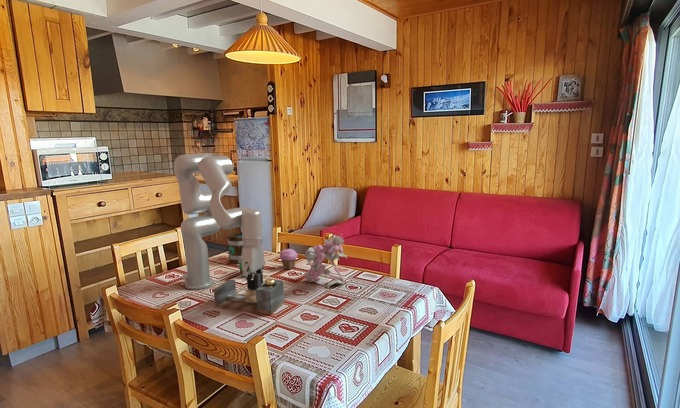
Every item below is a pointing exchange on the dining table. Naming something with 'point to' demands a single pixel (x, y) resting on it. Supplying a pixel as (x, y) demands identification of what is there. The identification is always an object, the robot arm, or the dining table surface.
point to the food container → (241, 267)
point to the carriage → (252, 293)
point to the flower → (317, 256)
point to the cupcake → (288, 258)
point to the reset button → (269, 282)
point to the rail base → (265, 296)
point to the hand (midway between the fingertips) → (255, 285)
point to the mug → (235, 246)
